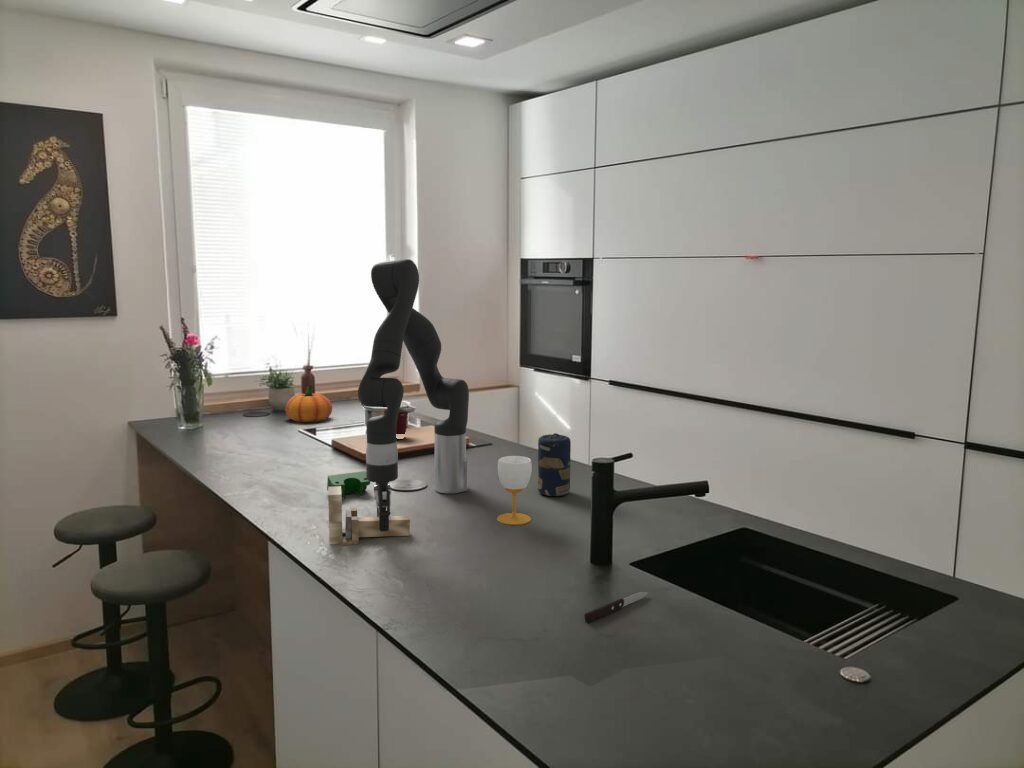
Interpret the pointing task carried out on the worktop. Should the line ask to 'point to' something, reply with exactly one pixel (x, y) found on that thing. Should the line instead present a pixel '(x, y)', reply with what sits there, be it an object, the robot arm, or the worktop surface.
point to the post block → (340, 519)
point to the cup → (514, 484)
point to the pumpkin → (308, 407)
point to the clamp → (349, 482)
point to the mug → (400, 421)
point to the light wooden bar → (371, 526)
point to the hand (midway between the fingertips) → (382, 525)
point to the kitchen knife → (612, 607)
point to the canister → (554, 464)
